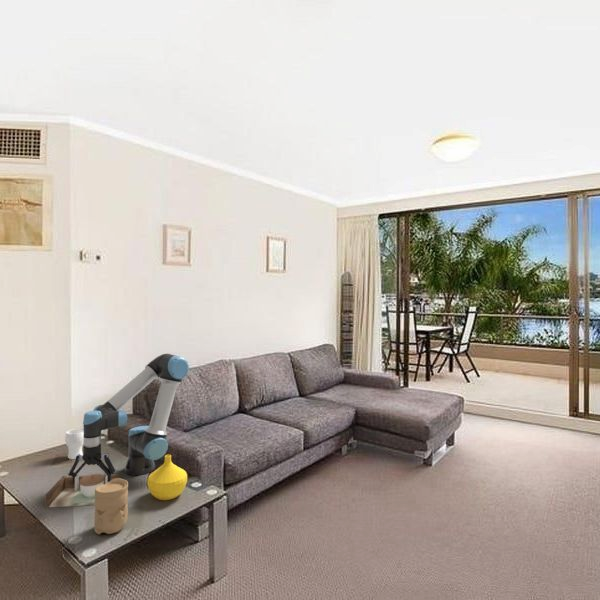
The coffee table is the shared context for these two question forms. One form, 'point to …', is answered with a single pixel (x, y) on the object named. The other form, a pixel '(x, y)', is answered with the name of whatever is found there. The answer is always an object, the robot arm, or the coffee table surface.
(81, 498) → the pad
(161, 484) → the vase
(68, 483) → the walls
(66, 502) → the board
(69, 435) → the cup
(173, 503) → the coffee table surface
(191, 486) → the coffee table surface
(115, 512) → the container
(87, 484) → the lidded jar
